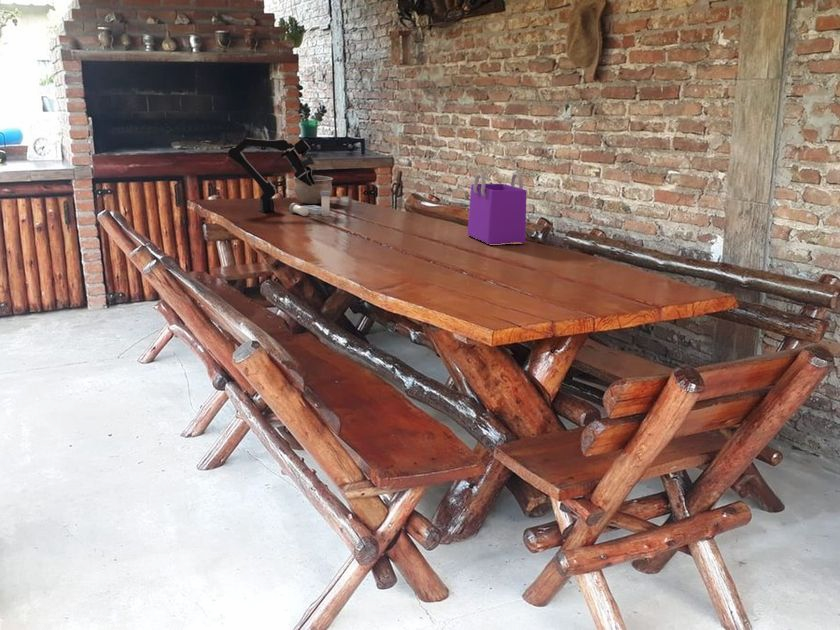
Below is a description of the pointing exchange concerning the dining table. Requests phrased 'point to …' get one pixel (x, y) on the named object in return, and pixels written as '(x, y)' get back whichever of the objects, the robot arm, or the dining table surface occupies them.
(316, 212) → the housing
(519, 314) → the dining table surface
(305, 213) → the white plastic cylinder
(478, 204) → the shopping bag
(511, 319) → the dining table surface
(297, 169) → the robot arm
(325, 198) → the translucent upright cylinder
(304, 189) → the ceramic bowl
